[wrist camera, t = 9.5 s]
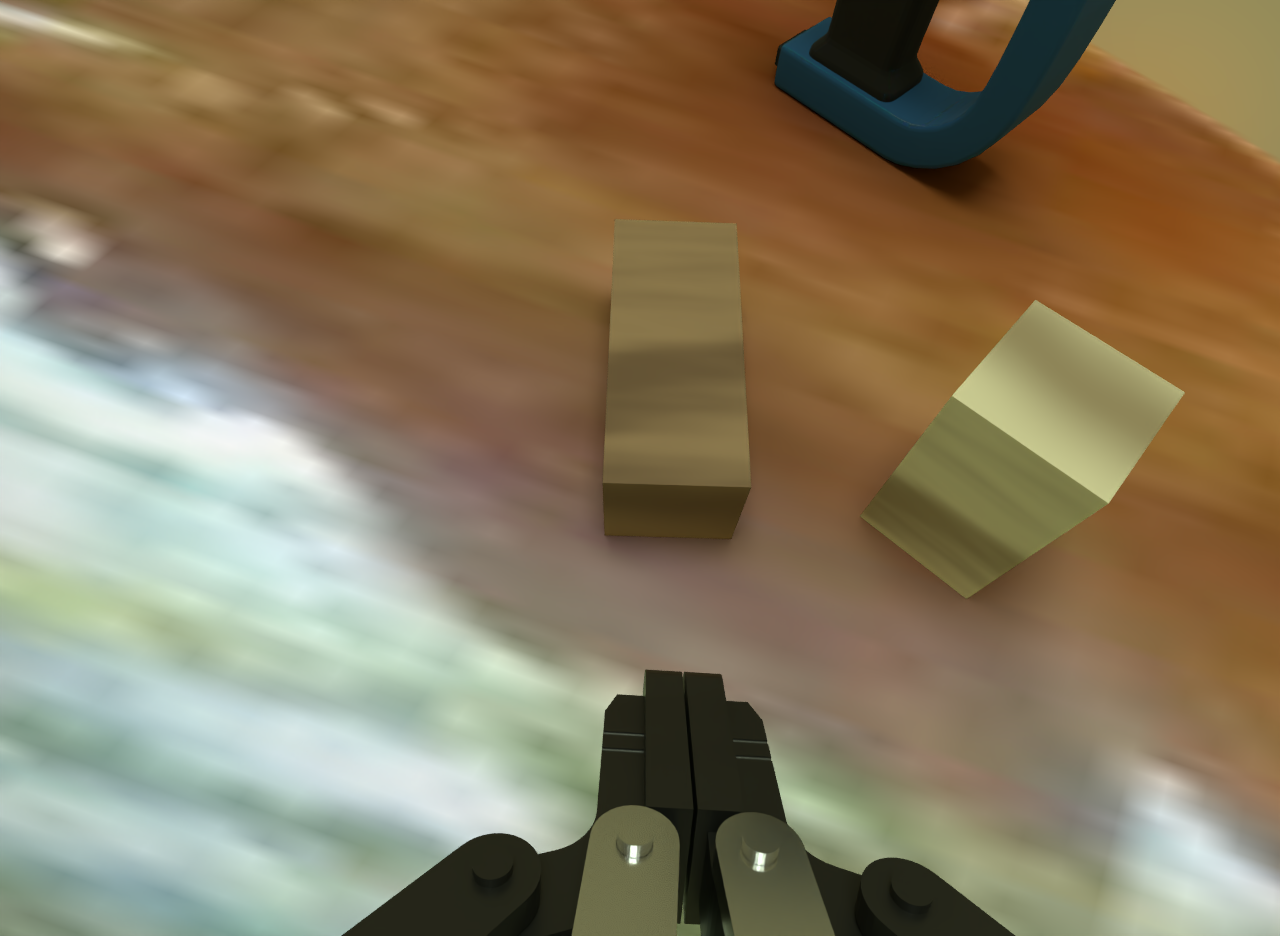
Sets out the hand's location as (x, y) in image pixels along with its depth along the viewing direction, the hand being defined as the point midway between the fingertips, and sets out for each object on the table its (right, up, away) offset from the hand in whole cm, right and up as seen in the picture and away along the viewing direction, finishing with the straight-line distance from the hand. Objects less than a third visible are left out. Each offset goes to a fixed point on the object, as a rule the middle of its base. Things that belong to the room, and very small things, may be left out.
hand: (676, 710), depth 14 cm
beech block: (+12, +3, +15) cm, 19 cm away
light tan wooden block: (0, +3, +12) cm, 13 cm away
